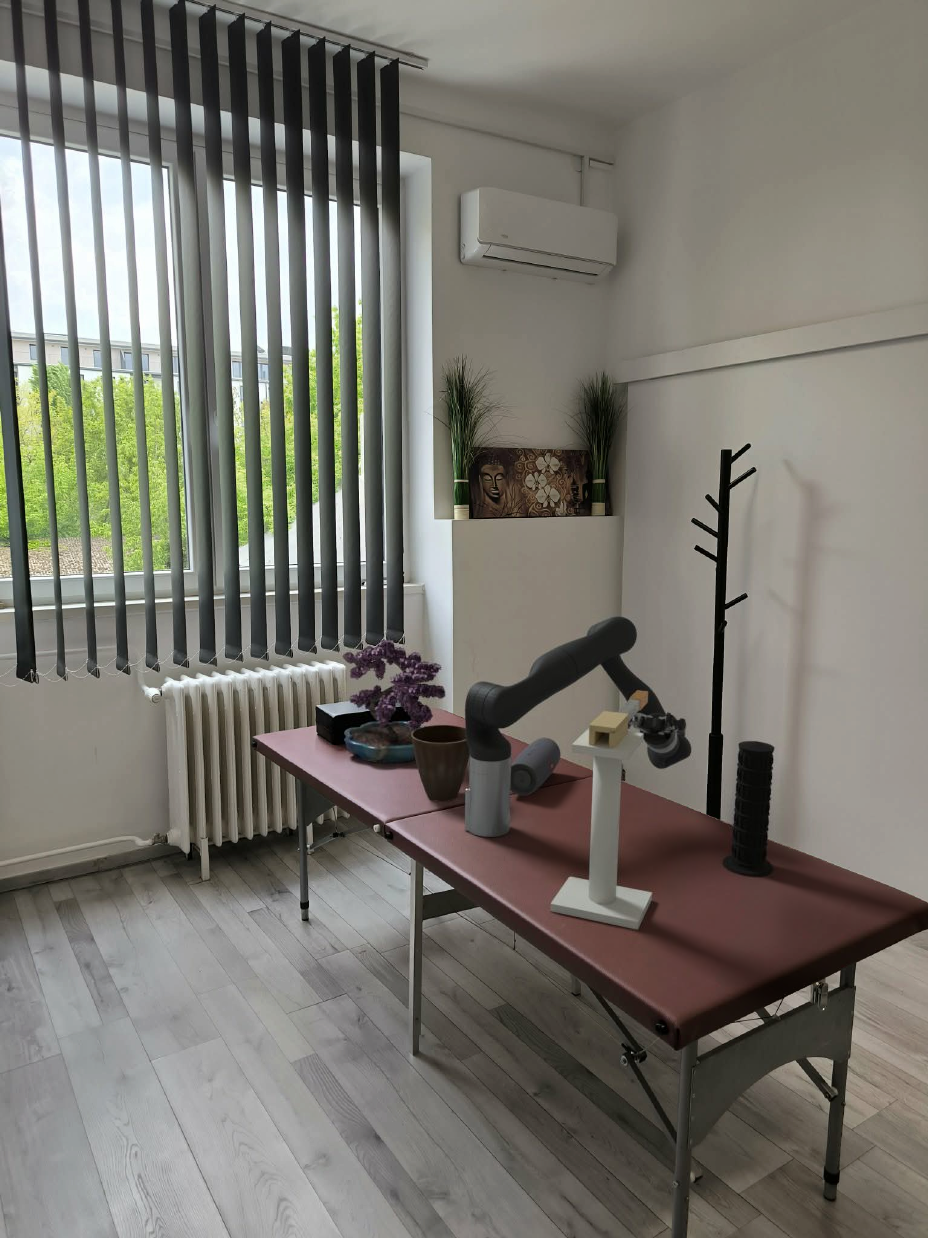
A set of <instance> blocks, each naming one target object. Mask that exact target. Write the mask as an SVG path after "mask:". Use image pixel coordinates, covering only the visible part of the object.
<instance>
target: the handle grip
mask: <svg viewBox="0 0 928 1238" xmlns="http://www.w3.org/2000/svg"><path fill="white" fill-rule="evenodd" d="M775 748H776V747H775V746H774V745H772V744H770V743H767V742H764V741H763V742H762V741H758V740H744V741H741V742H739V743H738V753H737V763H736V766H737V768H736V779H735V781H736V784H735V794H734V796H735V798H734V810H733V811H734V813H733V823H732V826H733V828H732V838H731V841H732V843H731V854H730V855H727V856H725V857H724V858H723V860H722V865H723V867H724V868H725V869H726V870H727V871H730V872H731V873H734V874H738V875H740V876H745V877H750V878H762V877H767V876H770V875H772V874H773V873H774V871H775V868H774V866H773V864H772V863H771V862H770V861H769V860H768V859H766V858H767V853H768V852H767V847H768V845H769V843H768V839H769V835H768V834H769V832H768V831H769V824H770V818H769V816H770V815H771V813H770V810H771V802H770V801H771V799H772V797H771V795H772V785H773V782H772V780H773V770H774V766H773V765H774V754H773V753H774V751H775Z"/></svg>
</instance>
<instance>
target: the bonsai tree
mask: <svg viewBox="0 0 928 1238" xmlns="http://www.w3.org/2000/svg"><path fill="white" fill-rule="evenodd" d="M342 658H343V660H345V662H346V663H347V664H350V665H352V664H354V665H355V666H353V667H352V668H351V669H350V670H349V672H350V674H349V677H350V678H351V679H355V680H357V681H359V679H361V678H362V677H363V676H364V675H366V674H367V673H368V672H369V671H370V672H371V671H373V672H374V674H375V677H376V679H378V681H381V680H383V679H384V678H385V673H386V670H387V669H386V665H387V664H388V665H389V666H392V665H393V664H394V665H396V666H397V667H398V668H399V669H400V671H401V672H399V674H398V673H395V675H393V676H390V677H389V679H390V680H389V681H388V683H391V684H393V685H392V686H390V687H388V688H385V689H384V690H382V687H381V685H378V684H376V685H375V686H373V689H361V690H360V691H359V690H358V693H356V694H352V695H350V697H349V702H350V704H352V703H353V704H354V706H355V705H356V707H357V708H358V709H359V708H361V707H363V706H364V709H365V710H368V711H369V712H370V714H371V715H372V717H373V718H374V719H375V720H376V721H370V722H367V723H364V724H361V725H360V727H358V726H357V727H350V728H347V729H346V730H345V731H344V733H343V734H344V735H345V738H344V739H343V740H344V742H345V745H346V748H347V751H348V752H349V753H351V754H354V756H355V757H356V758H359V759H361V760H364V761H367V762H373V763H387V764H389V763H391V764H392V763H393V764H394V763H402V762H409V761H413V760H416V759H415V754H414V749H413V743H412V736H411V734H412V732H413V731H414V730H416V729H418V728H421V727H425V726H426V725H423V724H425V723H429V721H430V722H431V720H432V718H433V717H434V715H433V713H432V710H431V708H430V707H429V705H428V704H423V703H422V702H421V701H419V700H420V697H421V698H425V699H428V700H429V699H430V698H433V699H435V698H438V700H439V701H441V700H442V699H444V698H445V697H446V689H445V688H444V686H443V685H440V684H438V685H436V684H428V682H432V681H434V679H435V678H437V674H438V673H440V670H441V671H442V665H441V664H439V663H435V662H434V663H433V662H432V663H430V662H429V661H426V660H423V661H422V657H421V653H420V652H416V651H414V652H411V653H408V654H407V652H406V649H405V648H404V647H401V646H400V647H397V646H395V644H394V640H392V639H390V638H389V639H386V640H383V641H380V643H379V644H378V645H377V646H376V647H373V646H370V645H367V646H366V647H364V648H363V650H360V651H357V652H356V654H353V653H352V652H351V651H348V652H345V653H344V654H343V655H342ZM382 659H383V660H382ZM385 660H386V661H385ZM372 669H373V670H372ZM407 670H408V671H407ZM398 703H399V704H400V707H402V710H404V712H406V713H407V716H409V718H410V720H408V721H405V720H403V721H402V720H401V721H399V720H398V721H392V722H390V720H391V717H392V715H393V714H395V712H396V710H397V707H396V706H397V705H396V704H398Z"/></svg>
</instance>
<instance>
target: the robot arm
mask: <svg viewBox="0 0 928 1238" xmlns="http://www.w3.org/2000/svg"><path fill="white" fill-rule="evenodd" d="M637 638H638V633H637V627H636V625H635V624H634V623H633V622H632V620H630V619H629V618H627V617H624V616H612V617H610V618H607V619H604V620H601V621H600V622H597V623H595V624H593V625H591V626H590V627H589V629H588V630H587V632H586V635H585V636H583V637H580V638H577V639H576V638H575V639H574V640H571V641H569V642H566V643H563V644H561V645H559V646H557V647H555V648H553V649H550V650H549V651H547V652H545V653H544V654H542V655H540V656H539V657H537V658H536V660H535V661H534V662H533V664H532V666H531V667H530V669H529V673H528V675H527V676H526V677H525V678H523V679H522V680H521V681H518V682H517V683H514V684H512V685H508V686H507V685H501V684H496V683H493V682H490V681H489V682H488V681H478V682H475V683H474V684H473V685H472V686H471V687H470V688H469V690H468V691H467V694H466V698H465V704H464V720H465V722H464V723H465V724H464V725H465V727H464V728H466V741H467V744H468V747H469V761H468V765H469V766H468V769H469V770H468V787H467V788H466V789H465V794H464V800H465V801H464V806H465V807H464V808H465V809H464V831H467V832H470V833H471V834H472V835H476V836H479V837H485V838H494V837H495V838H496V837H500V836H505V835H507V834H508V833H509V832H510V824H511V819H510V818H511V790H510V788H511V764H512V744H511V742H510V741H509V740H508V739H507V738H506V737H505V736H504V734H503V733H502V732H501V731H500V730H501V729H506V728H509V727H511V726H512V725H514V724H516V723H517V722H518V721H519V720H521V719H522V718H523V717H524V716H526V715H527V714H528V713H529V712H530V711H532V710H533V709H535V708H536V706H539V705H540V704H542V703H543V702H545V701H546V700H548V699H549V698H552V696H554V695H555V694H557V693H559V692H561V691H563V690H565V689H566V688H568V687H570V686H571V685H572V684H574V683H576V682H577V681H579V680H581V678H583V677H584V676H586V675H588V674H589V673H591V671H593V670H595V668H597V667H598V666H601V667H602V668H603V670H604V671H605V673H606V675H608V677H609V678H610V680H611V681H612V682H613V684H614V685H615V687H616V688H617V689H618V690H619V691H620V693H621V694H622V696H623V698H624V699H625V701H626V702H627V701H628V700H629V698H630V697H631V696H632V695H633V694H634V693H635V692H636V691H637V690H640V691H648V702H647V704H646V705H645V706H644V707H643V708H642V709H641V710H639V711H638V712H637V713H636V714H635V715H634V716H633V718H632V719H631V720H630V721H629V722H628V730H630V728H631V727H633V728H634V729H637V730H639V733H644V736H643V742H645V744H646V745H647V747H646V753H647V757H648V759H649V761H650V763H651V765H652V766H653V767H654V768H656V769H659V770H664V769H667V768H669V767H671V766H674V765H676V764H678V763H679V762H681V761H684V760H685V759H688V758H689V757H690V756H691V754H692V745H691V742H690V741H689V739H688V738H687V737H686V731H687V721H686V719H685V718H684V717H680V718H679V719H677V717H676V716H675V715H674V714H672V713H671V712H666V711H665V710H664V707H663V705H662V703H661V701H660V700H659V698H658V695H656V693H655V692H654V691H653V689H652V688H651V687H650V686H649V685H647V683H645V682H644V681H643V680H642V679H640V678H639V677H638V676H637V675H636V674H635V673H633V672H632V671H631V670H630V668H629V667H628V666H627V664H625V662H624V661H623V659H622V657H621V655H623V654H625V653H628V652H629V651H630V650H632V649H633V647H634V646H635V645H636V642H637Z"/></svg>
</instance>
